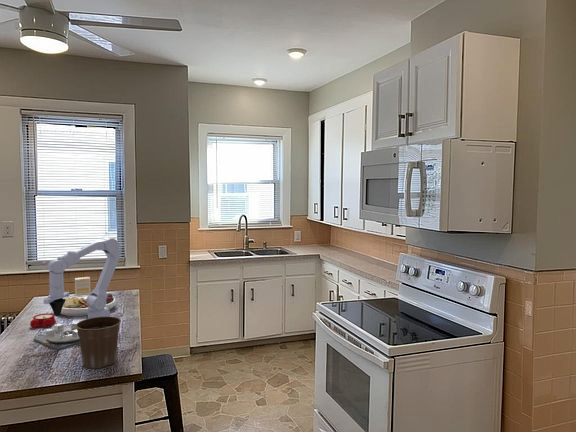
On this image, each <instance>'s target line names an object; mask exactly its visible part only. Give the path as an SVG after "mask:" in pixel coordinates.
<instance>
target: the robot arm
mask: <svg viewBox="0 0 576 432" xmlns="http://www.w3.org/2000/svg"><path fill="white" fill-rule="evenodd" d="M95 251H102V252H103V253H104V254H105V256H106V257H107V258H106V261H105V263H104V265H103V268H102V270H101V272H100V276H99V278H98V281H97V283H96V284H95V285H96V286H95V288H94V289H92V291H91V294H90V295H89V296H88V297H87V299H86V303H87V305H88V306H89V308H88V316H87V317H88V318H87V319H89V318H94V317H111V311H110V310H109V309H108V308H107V307H105V306H106V299H107V294H108V293H107V291H108V289H109V285H110V284H111V281H112V278H113V275H114V273H115V271H116V268H117V266H118V263H119V260H120V256H121V255H120V243H119V241H118V240H117V239H115V238H111V237H108V236H102V237H100V238H97V239H96V240H94V241H93V242H91V243H89V244H87V245H86V246H84V247H82V248H81V249H78V250H77V251H75V250H72V251H71V250H68V251H67V252H66V253H65V254H64V255H62V256H57V259H51V260H50V261H49V262H48V263H47V266H46V269H47V271H49V276H48V277H49V278H48V279H49V282H48V283H49V295H47V297H46V298H44V299H43V305H50V308H51V310H52V312H53V313H52V314H54V316H55V317H59V316H61V315H62V314H61V310H62V307H63V304H64V303H65V299H66V297H67V298H69V297H70V292H69V291H65V290H64V289H65V285H64V284H65V283H64V282H65V280H64V272H65V270H66V269H67V268H69V267H71V266H74V265H75V264H77V263H79V262H80V260H81V258H83V257H85V256H87V255H89V254H91V253H93V252H95Z"/></svg>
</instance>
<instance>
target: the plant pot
mask: <svg viewBox="0 0 576 432" xmlns="http://www.w3.org/2000/svg"><path fill="white" fill-rule="evenodd" d="M77 322H78V323H77V324H76V328H77V331H78V336H79V339H80V344H79V345H80V346H79V347H80V353H81V361H82V366H83V367H85V368H86V369H91V368H93V369H94V370H95V369H97V370H98V369H102V368H105V367H106V366H112V365H113V364H115V363H116V362H117V356H118V354H117V353H118V343H119V332H120V326H121V323H122V319H120V318H119V317H116V316H110V317H94V318H89V319H88V318H86V319H83V320H81V321H77Z"/></svg>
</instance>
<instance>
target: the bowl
mask: <svg viewBox="0 0 576 432" xmlns="http://www.w3.org/2000/svg"><path fill="white" fill-rule="evenodd" d="M88 296H89V295H83V296H76V297H75V296H72V297H71V296H69V297H67V298H66V297H65V298H64V299H65V303H64V304H63V307H62V310H61V314H60V315H64V316H68V317H86V316H87V317H88V308H89V306H88V305H87V303H86V299H87V297H88ZM115 305H116V297H114V295H113V294H112V293H110V292H109V293H107V299H106V306H105V307H107V308H108V309H109V311H110V310H112V309H113V308H114V307H115Z"/></svg>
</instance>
